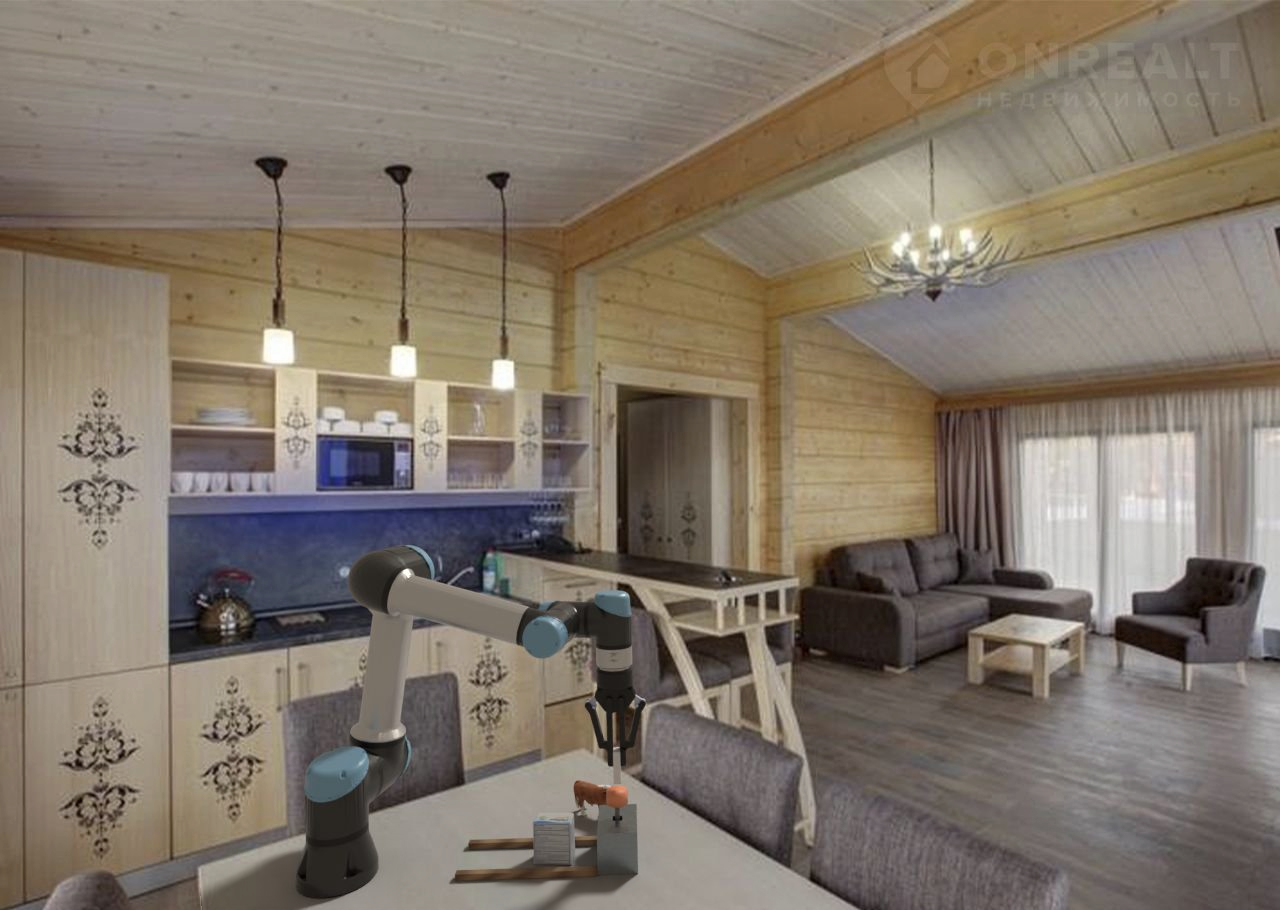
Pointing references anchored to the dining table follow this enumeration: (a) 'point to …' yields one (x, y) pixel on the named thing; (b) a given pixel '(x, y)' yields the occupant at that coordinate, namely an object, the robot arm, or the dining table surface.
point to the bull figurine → (589, 794)
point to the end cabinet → (617, 840)
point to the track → (525, 872)
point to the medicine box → (554, 838)
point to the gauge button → (617, 799)
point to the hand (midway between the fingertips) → (617, 781)
